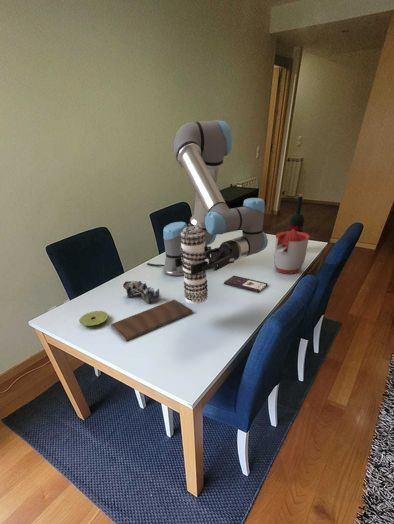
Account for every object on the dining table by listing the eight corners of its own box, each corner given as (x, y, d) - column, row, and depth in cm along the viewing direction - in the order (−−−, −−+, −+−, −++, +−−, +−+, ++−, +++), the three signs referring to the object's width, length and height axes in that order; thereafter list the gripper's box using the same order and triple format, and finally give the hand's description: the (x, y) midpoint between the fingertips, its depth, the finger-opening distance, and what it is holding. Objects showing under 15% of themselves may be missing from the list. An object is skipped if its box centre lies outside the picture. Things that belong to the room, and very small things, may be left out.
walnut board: (126, 341, 106) (125, 338, 105) (111, 326, 114) (110, 324, 113) (192, 312, 120) (192, 310, 119) (174, 301, 128) (174, 299, 127)
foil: (137, 302, 122) (122, 274, 126) (137, 315, 132) (122, 289, 135) (162, 293, 126) (147, 267, 130) (160, 306, 136) (145, 281, 140)
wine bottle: (282, 253, 168) (290, 195, 150) (287, 248, 175) (295, 192, 157) (296, 255, 165) (305, 196, 147) (300, 249, 172) (310, 192, 154)
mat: (113, 323, 116) (111, 319, 115) (84, 332, 112) (83, 328, 110) (103, 312, 124) (102, 308, 123) (77, 320, 119) (75, 316, 118)
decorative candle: (193, 290, 113) (189, 222, 98) (213, 296, 108) (212, 225, 93) (179, 300, 107) (171, 229, 92) (199, 306, 103) (195, 233, 88)
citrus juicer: (263, 271, 150) (267, 230, 138) (284, 261, 158) (289, 222, 146) (289, 279, 140) (295, 237, 128) (309, 269, 149) (317, 228, 137)
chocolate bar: (233, 275, 145) (267, 283, 136) (233, 277, 145) (267, 285, 136) (224, 282, 139) (258, 290, 130) (224, 283, 140) (258, 292, 131)
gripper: (253, 267, 103) (203, 287, 93) (214, 253, 117) (167, 268, 107) (255, 246, 99) (202, 264, 88) (214, 233, 112) (165, 248, 102)
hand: (183, 266), depth 97 cm, fingers closed on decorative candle, 8 cm apart
